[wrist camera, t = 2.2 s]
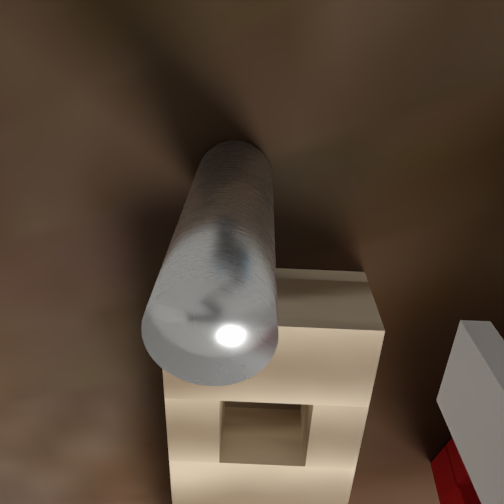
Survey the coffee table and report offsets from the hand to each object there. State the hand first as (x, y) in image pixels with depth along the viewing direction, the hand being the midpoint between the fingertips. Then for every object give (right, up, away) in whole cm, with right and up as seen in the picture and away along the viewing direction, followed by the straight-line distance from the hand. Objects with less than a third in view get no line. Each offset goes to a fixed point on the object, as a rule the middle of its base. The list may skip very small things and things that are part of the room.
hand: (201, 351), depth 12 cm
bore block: (+2, -9, +19) cm, 21 cm away
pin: (+1, +6, +11) cm, 12 cm away
